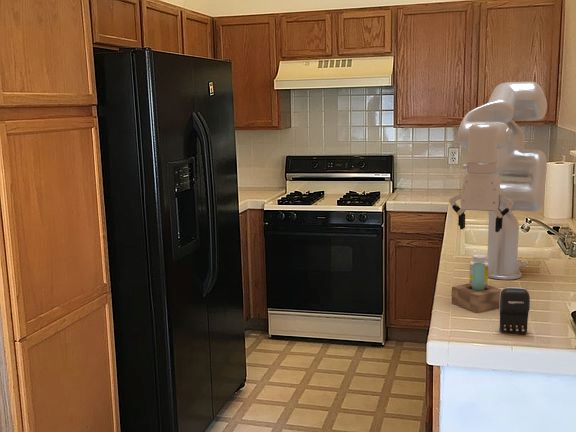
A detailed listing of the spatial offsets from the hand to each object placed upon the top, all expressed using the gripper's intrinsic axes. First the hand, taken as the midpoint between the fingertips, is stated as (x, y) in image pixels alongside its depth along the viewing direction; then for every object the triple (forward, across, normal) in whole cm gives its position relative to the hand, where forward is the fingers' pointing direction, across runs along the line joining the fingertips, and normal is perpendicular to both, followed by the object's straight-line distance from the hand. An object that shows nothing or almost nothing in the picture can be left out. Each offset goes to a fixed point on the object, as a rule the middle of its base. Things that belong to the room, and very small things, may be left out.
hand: (479, 229), depth 176 cm
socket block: (+22, 0, 0) cm, 22 cm away
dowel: (+22, 0, 0) cm, 22 cm away
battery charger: (+22, +13, -19) cm, 32 cm away
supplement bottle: (+22, -4, +18) cm, 29 cm away
